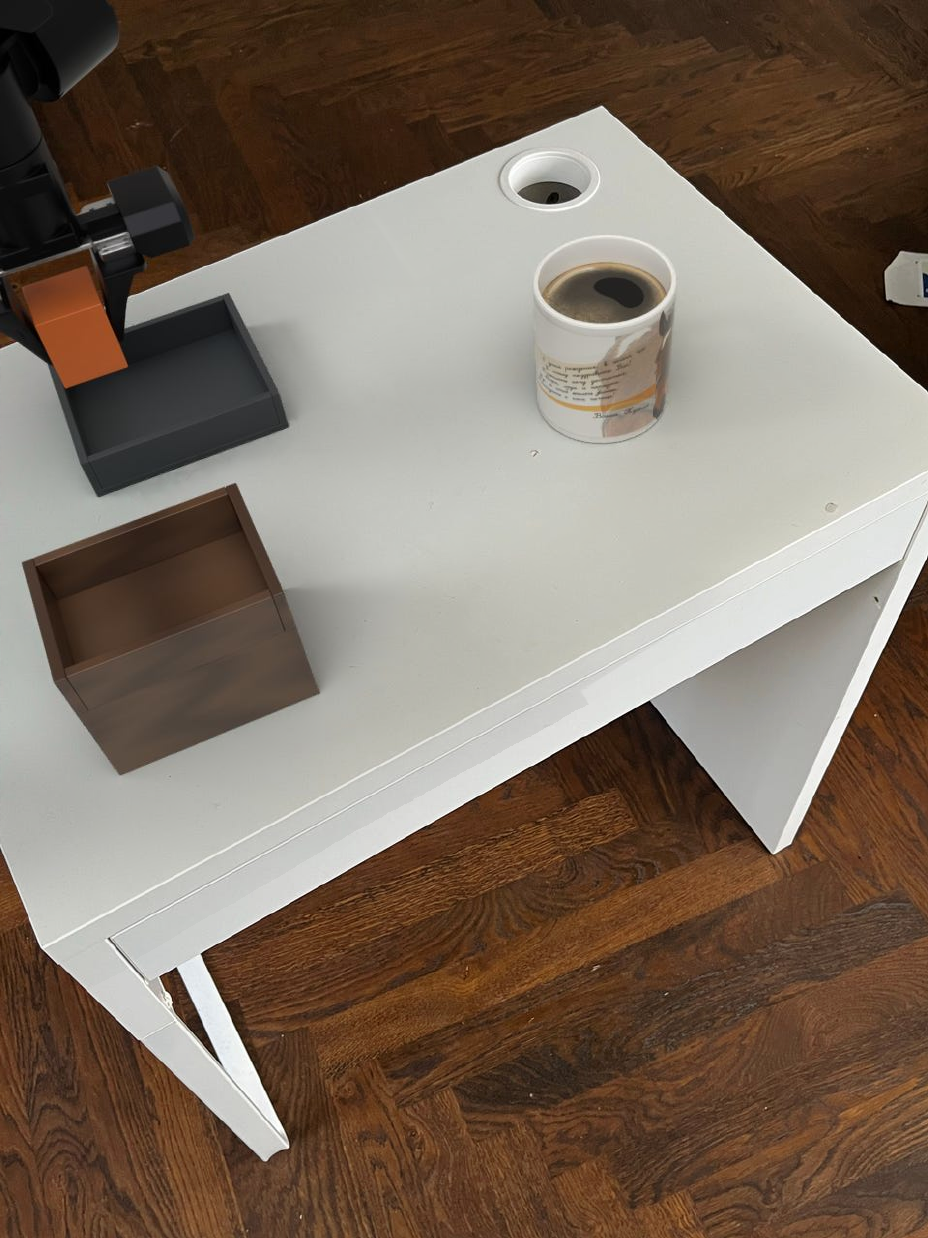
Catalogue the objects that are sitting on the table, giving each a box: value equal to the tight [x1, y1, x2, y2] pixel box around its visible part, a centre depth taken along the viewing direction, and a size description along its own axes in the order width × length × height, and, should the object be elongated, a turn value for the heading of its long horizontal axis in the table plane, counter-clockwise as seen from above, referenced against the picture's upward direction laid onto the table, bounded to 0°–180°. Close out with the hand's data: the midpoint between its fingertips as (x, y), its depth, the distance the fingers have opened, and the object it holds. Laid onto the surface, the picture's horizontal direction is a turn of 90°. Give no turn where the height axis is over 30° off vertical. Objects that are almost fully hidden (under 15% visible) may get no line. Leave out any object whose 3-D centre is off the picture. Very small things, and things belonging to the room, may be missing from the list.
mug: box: [531, 234, 678, 444], centre depth 83 cm, size 10×12×11 cm
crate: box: [21, 482, 320, 776], centre depth 71 cm, size 13×9×11 cm
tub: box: [47, 292, 290, 498], centre depth 89 cm, size 15×13×4 cm
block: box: [21, 265, 128, 388], centre depth 78 cm, size 4×4×6 cm
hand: (86, 349), depth 80 cm, fingers closed on block, 4 cm apart
